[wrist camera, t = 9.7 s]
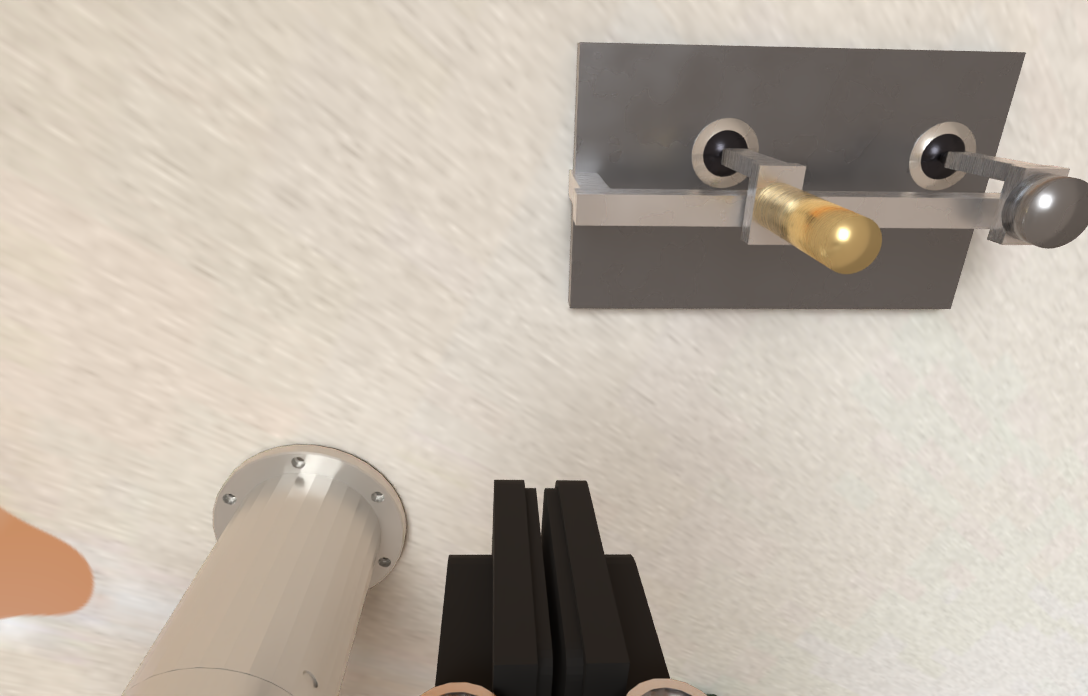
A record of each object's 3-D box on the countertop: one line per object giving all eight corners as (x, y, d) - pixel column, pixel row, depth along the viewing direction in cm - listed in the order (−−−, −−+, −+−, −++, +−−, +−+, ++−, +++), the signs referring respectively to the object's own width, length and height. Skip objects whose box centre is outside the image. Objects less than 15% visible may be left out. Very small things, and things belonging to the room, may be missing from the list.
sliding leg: (739, 211, 35) (869, 293, 22) (703, 211, 35) (813, 293, 22) (748, 146, 33) (893, 194, 21) (710, 146, 33) (833, 194, 21)
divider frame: (956, 208, 37) (1100, 253, 28) (562, 204, 36) (580, 250, 27) (973, 147, 36) (1131, 174, 27) (564, 141, 34) (583, 166, 25)
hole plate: (938, 302, 39) (951, 309, 38) (568, 301, 38) (570, 308, 37) (1009, 53, 34) (1027, 52, 32) (577, 43, 33) (580, 42, 31)
